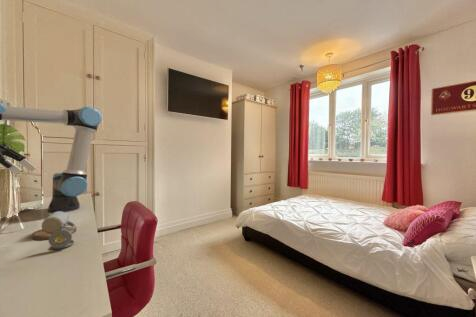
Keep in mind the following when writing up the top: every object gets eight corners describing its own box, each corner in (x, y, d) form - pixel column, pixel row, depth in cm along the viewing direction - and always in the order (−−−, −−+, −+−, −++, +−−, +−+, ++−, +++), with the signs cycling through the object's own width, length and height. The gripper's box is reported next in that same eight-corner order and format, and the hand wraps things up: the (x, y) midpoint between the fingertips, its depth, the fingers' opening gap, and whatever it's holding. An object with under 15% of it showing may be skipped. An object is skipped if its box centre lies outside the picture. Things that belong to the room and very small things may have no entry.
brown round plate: (41, 229, 93) (41, 226, 93) (81, 225, 99) (81, 223, 99) (22, 242, 79) (22, 239, 79) (69, 237, 85) (69, 234, 85)
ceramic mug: (39, 235, 84) (40, 216, 84) (48, 228, 91) (48, 211, 91) (71, 232, 88) (72, 214, 88) (77, 226, 96) (77, 210, 96)
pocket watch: (69, 241, 82) (69, 216, 82) (79, 245, 78) (80, 220, 78) (42, 248, 75) (43, 222, 75) (52, 254, 71) (53, 226, 71)
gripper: (-8, 144, 99) (32, 173, 106) (-53, 142, 77) (2, 179, 83) (7, 134, 101) (45, 163, 108) (-33, 129, 79) (19, 167, 85)
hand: (26, 170), depth 96 cm, fingers open, 13 cm apart
